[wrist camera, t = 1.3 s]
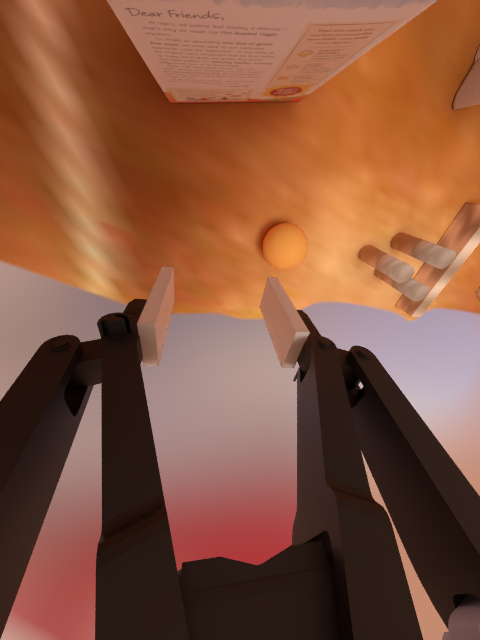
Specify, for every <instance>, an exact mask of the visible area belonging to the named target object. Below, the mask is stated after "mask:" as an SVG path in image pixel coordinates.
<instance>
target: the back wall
mask: <svg viewBox="0 0 480 640" xmlns="http://www.w3.org/2000/svg"><path fill="white" fill-rule="evenodd" d="M479 243H480V205H478V204H471V203H465V205H464V206H463V208H462V209H461V210H460V212H459V213H458V215H457V216H456V218H455V219H454V221H453V222H452V224H451V225H450V226H449V228H448V229H447V231H446V232H445V234H444V235H443V237H442V238H441V240H440V241H439V243H438V244H437V245H439V246H442V247H444V248H447V249H450V250H453V251H455V252H456V257H455V259H454V261H453V262H452V263H451V264H450V265H449V266H447V267H445V268H443V269H438V268H436V267H434V266H432V265H430V264H427V263H424V264H423V266H422V267H421V269H420V270H419V272H418V273H417V275H416V276H415V277H414V280H416V281H418V282H420V283H422V284H423V285H425V286H427V287H428V288H429V293H428V295H427V296H426V297H425V298H424V299H422V300H420V301H413V300H411V299H410V298H408V297H407V296H405V295H404V294H403V295H402V296H401V298H400V299H399V301H398V302H397V304H396V306H398V307H399V308H400V309H402V310H403V311H404V312H406V313H407V314H408V315H410V316H411V317H421V316H422V314H423V313H424V312H425V311H426V309H427V308H428V307H429V305H430V304H431V303H432V302H433V300H434V299H435V298H436V297H437V295H438V294H439V293H440V292H441V290H442V289H443V288H444V287H445V285H446V284H447V283H448V282H449V280H450V279H451V278H452V277H453V275H454V274H455V273H456V272H457V270H458V269H459V268H460V267H461V265H462V264H463V263H464V262H465V260H466V259H467V258H468V257H469V255H470V254H471V253H472V251H473V250H474V249H475V248H476V246H477V245H478V244H479Z"/></svg>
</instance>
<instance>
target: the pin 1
mask: <svg viewBox="0 0 480 640" xmlns="http://www.w3.org/2000/svg"><path fill="white" fill-rule="evenodd" d="M391 247H392V248H394V249H396V250H399V251H401V252H403V253H405V254H408V255H410V256H412V257H414V258H416V259H419V260H421V261H423V262H425V263H427V264H430V265H432V266H434V267H436V268H438V269H443V268H445V267H447V266H449V265H450V264H451V263H452V262H453V261H454V259H455V257H456V252H455V251H453V250H450V249H447V248H444V247H442V246H439V245H436V244H433V243H430V242H428V241H425V240H422V239H419V238H416V237H413V236H411V235H408V234H405V233H398V234H397V235H395V236H394V237H393V238H392V240H391Z"/></svg>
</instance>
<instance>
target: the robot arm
mask: <svg viewBox="0 0 480 640" xmlns="http://www.w3.org/2000/svg"><path fill="white" fill-rule="evenodd" d="M173 305H174V267H165V266H162V268H161V270H160V273H159V275H158V277H157V279H156V282H155V284H154V286H153V288H152V291H151V293H150V295H149V297H148V300H145V299H134V300H132V301H131V302H129V303H128V305H127V307H126V309H125V310H124V312H123V313H111V314H107V315H105V316H103V317H101V318H100V319H99V321H98V323H97V325H98V328H99V332H100V335H101V339H97V340H92V341H86V342H80V340H79V339H78V338H77V337H75V336H73V335H62V336H57V337H54V338H51V339H49V340H47V341H46V342H44V343H43V344H42V345H41V346H40V347H39V349H38V350H37V352H36V353H35V354H34V356H33V357H32V358H31V360H30V361H29V362H28V364H27V365H26V367H25V368H24V369H23V371H22V372H21V374H20V375H19V376H18V378H17V379H16V380H15V382H14V383H13V385H12V386H11V387H10V389H9V390H8V391H7V393H6V394H5V396H4V397H3V398H2V400H1V401H0V638H1V636H2V633H3V630H4V628H5V625H6V622H7V620H8V616H9V614H10V612H11V609H12V606H13V603H14V601H15V598H16V595H17V593H18V590H19V587H20V584H21V582H22V579H23V576H24V574H25V571H26V568H27V565H28V563H29V560H30V557H31V554H32V551H33V549H34V546H35V544H36V541H37V538H38V535H39V533H40V530H41V527H42V525H43V522H44V519H45V516H46V514H47V511H48V508H49V505H50V503H51V500H52V497H53V494H54V492H55V489H56V486H57V484H58V481H59V478H60V476H61V472H62V470H63V467H64V464H65V462H66V459H67V456H68V454H69V451H70V448H71V446H72V443H73V440H74V437H75V435H76V432H77V429H78V426H79V424H80V421H81V418H82V416H83V413H84V410H85V408H86V405H87V402H88V399H89V397H90V394H91V391H92V388H93V386H94V385H95V384H100V383H102V533H101V537H100V540H99V543H98V550H97V559H96V619H95V640H423V637H422V633H421V630H420V626H419V622H418V619H417V615H416V611H415V608H414V604H413V601H412V597H411V593H410V590H409V586H408V582H407V579H406V575H405V571H404V568H403V564H402V561H401V557H400V553H399V550H398V546H397V542H396V539H395V535H394V531H393V528H392V524H391V522H390V519H389V516H388V514H387V512H386V511H385V510H384V508H383V506H381V505H380V504H378V503H377V502H376V501H375V500H374V499H373V497H372V495H371V492H370V487H369V483H368V479H367V475H366V471H365V466H364V462H363V458H362V453H363V455H364V458H365V460H366V462H367V464H368V467H369V469H370V471H371V473H372V476H373V478H374V480H375V482H376V485H377V487H378V489H379V491H380V494H381V496H382V498H383V500H384V503H385V505H386V507H387V509H388V512H389V514H390V516H391V518H392V521H393V523H394V525H395V527H396V530H397V532H398V534H399V536H400V539H401V541H402V543H403V545H404V548H405V550H406V552H407V554H408V557H409V559H410V561H411V563H412V565H413V567H414V569H415V571H416V573H417V575H418V577H419V580H420V581H421V583H422V585H423V587H424V589H425V591H426V592H427V594H428V596H429V598H430V600H431V602H432V603H433V605H434V607H435V609H436V610H437V612H438V613H439V615H440V617H441V618H442V620H443V622H444V623H445V625H446V627H447V628H448V630H449V632H444V635H443V640H480V496H479V495H478V494H477V492H476V491H475V490H474V488H473V487H472V486H471V485H470V483H469V482H468V480H467V479H466V478H465V476H464V475H463V474H462V472H461V471H460V470H459V468H458V467H457V465H456V464H455V463H454V461H453V460H452V459H451V458H450V456H449V455H448V453H447V452H446V451H445V449H444V448H443V447H442V445H441V444H440V443H439V441H438V440H437V439H436V437H435V436H434V435H433V433H432V432H431V430H429V428H428V426H427V425H426V424H425V422H424V421H423V420H422V418H421V417H420V416H419V414H418V413H417V412H416V410H415V409H414V408H413V406H412V405H411V404H410V402H409V401H408V400H407V398H406V397H405V395H404V394H403V393H402V391H401V390H400V389H399V387H398V386H397V385H396V383H395V382H394V381H393V379H392V378H391V377H390V375H389V374H388V373H387V371H386V370H385V369H384V367H383V366H382V365H381V363H380V362H379V360H378V359H377V358H376V356H375V355H374V354H373V353H372V352H371V351H369V350H368V349H366V348H364V347H361V346H353V347H351V349H350V350H349V351H346V350H342V349H338V348H337V347H336V346H335V344H334V343H333V342H332V341H331V340H329V339H328V338H325V337H322V336H321V335H320V334H319V332H318V330H317V329H316V327H315V326H314V325H313V323H312V321H310V318H309V317H308V315H307V314H306V313H304V312H303V311H302V310H296V309H295V307H294V305H293V304H292V302H291V300H290V299H289V297H288V295H287V294H286V292H285V290H284V289H283V287H282V286H281V284H280V282H279V281H278V279H277V278H273V277H267V281H266V285H265V289H264V293H263V297H262V300H261V304H260V309H261V312H262V315H263V317H264V320H265V323H266V325H267V328H268V331H269V334H270V337H271V339H272V342H273V345H274V347H275V350H276V353H277V356H278V359H279V361H280V364H281V367H282V368H294V366H295V364H296V362H298V364H299V366H300V367H299V369H298V371H297V373H296V375H295V377H294V381H296V379H297V512H296V517H295V520H294V525H293V535H292V545H291V546H290V547H288V548H286V549H285V550H283V551H282V552H280V553H278V554H277V555H275V556H274V557H272V558H270V559H269V560H267V561H266V562H264V563H263V564H261V565H253V564H249V563H244V562H240V561H236V560H232V559H228V558H223V557H216V558H209V559H202V560H196V561H190V562H184V563H182V569H180V570H179V571H177V567H176V561H175V556H174V550H173V545H172V539H171V533H170V528H169V522H168V517H167V512H166V506H165V502H164V496H163V491H162V485H161V479H160V473H159V468H158V462H157V456H156V451H155V446H154V440H153V434H152V428H151V423H150V417H149V411H148V406H147V400H146V395H145V389H144V383H143V378H142V372H141V366H140V364H141V361H143V365H144V366H158V365H159V362H160V358H161V354H162V350H163V346H164V341H165V337H166V333H167V329H168V325H169V321H170V317H171V313H172V309H173ZM360 382H361V383H362V384H363V386H364V387H363V388H362V389H360V387H359V385H358V384H359V383H360ZM361 451H362V453H361Z"/></svg>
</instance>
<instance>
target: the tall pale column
mask: <svg viewBox="0 0 480 640" xmlns="http://www.w3.org/2000/svg"><path fill="white" fill-rule="evenodd" d="M479 104H480V46H479V49H478V51H477V54H476V56H475V61H474V64H473V65H472V67H471V69H470V70H469V72H468V74H467V75H466V77H465V79H464V81H463V82H462V84H461V86H460V87H459V89H458V91H457V92H456V94H455V97H454V100H453V103H452V109H453V110H454V109H461V108H465V107H470V106H474V105H479Z"/></svg>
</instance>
